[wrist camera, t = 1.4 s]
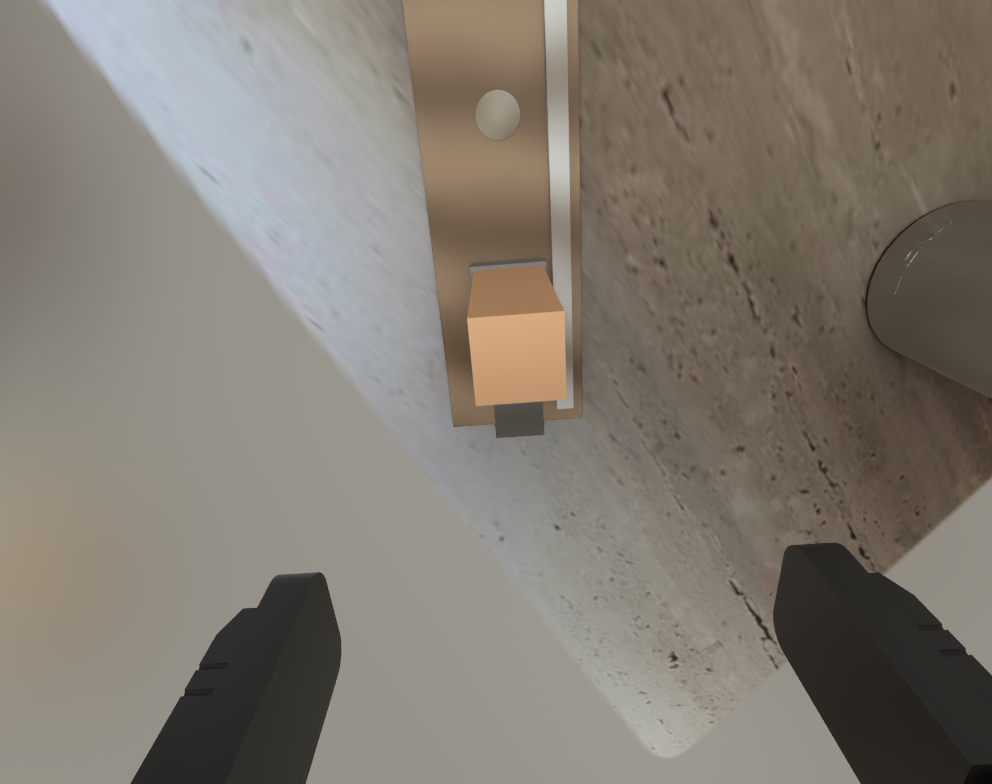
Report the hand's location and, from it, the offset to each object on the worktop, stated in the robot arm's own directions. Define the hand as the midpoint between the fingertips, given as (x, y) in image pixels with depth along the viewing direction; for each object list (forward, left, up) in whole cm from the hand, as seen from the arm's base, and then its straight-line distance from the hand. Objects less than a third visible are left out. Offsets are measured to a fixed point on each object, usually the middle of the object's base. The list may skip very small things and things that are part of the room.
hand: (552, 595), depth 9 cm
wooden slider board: (+2, -3, -24) cm, 24 cm away
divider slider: (0, 0, -22) cm, 22 cm away
